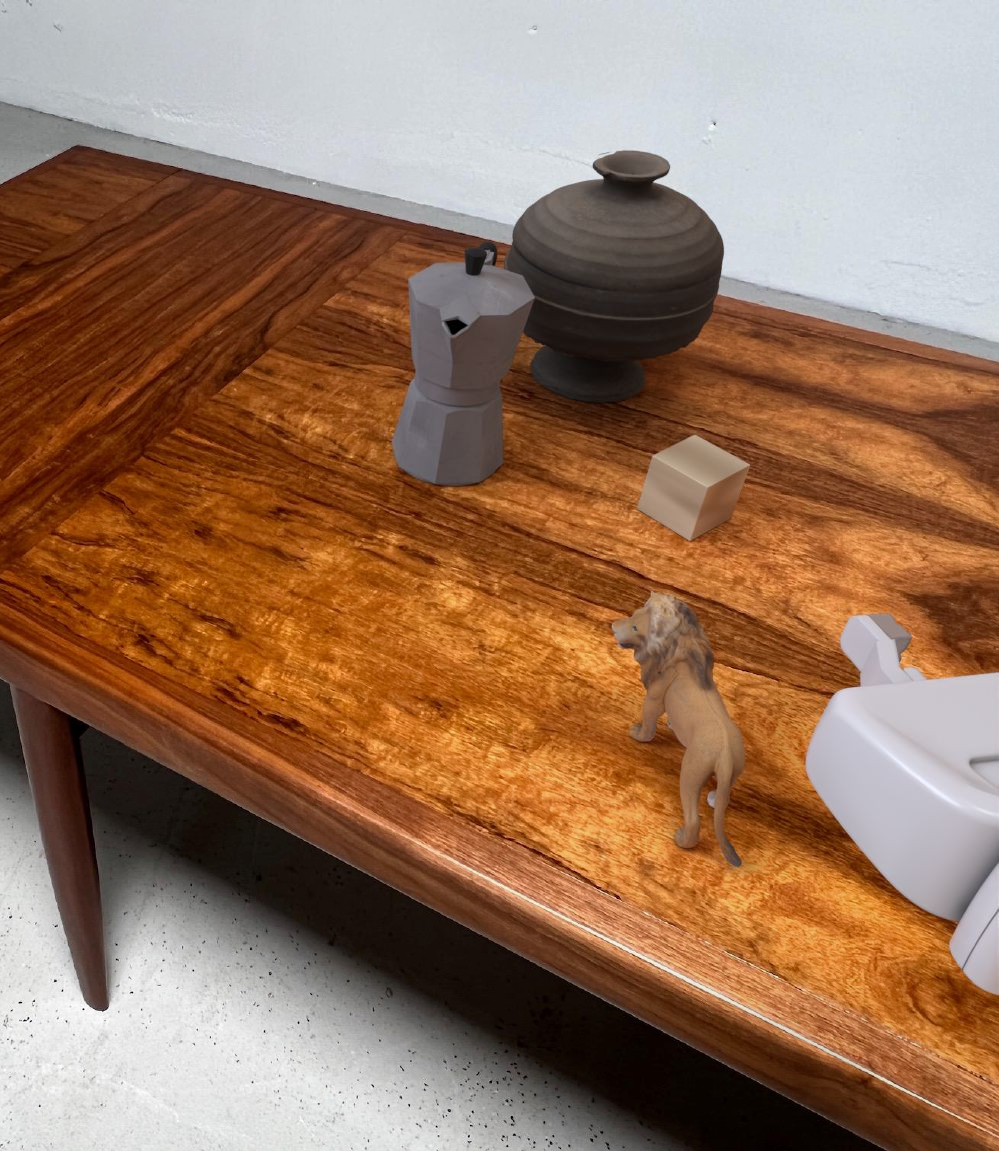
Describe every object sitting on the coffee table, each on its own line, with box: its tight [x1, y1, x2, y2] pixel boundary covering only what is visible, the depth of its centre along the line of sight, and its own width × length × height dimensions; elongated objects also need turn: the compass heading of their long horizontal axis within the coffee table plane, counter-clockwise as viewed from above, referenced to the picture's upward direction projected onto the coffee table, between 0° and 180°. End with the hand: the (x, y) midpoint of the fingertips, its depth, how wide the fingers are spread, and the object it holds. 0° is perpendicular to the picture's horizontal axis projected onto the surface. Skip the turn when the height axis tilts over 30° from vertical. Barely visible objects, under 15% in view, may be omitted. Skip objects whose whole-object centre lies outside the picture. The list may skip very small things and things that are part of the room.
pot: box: [503, 149, 725, 404], centre depth 97 cm, size 18×18×20 cm
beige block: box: [636, 434, 751, 542], centre depth 86 cm, size 5×5×5 cm
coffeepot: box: [391, 241, 535, 487], centre depth 88 cm, size 15×9×18 cm, turn 160°
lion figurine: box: [611, 590, 746, 868], centre depth 65 cm, size 15×5×9 cm, turn 11°
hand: (966, 616), depth 46 cm, fingers open, 8 cm apart
